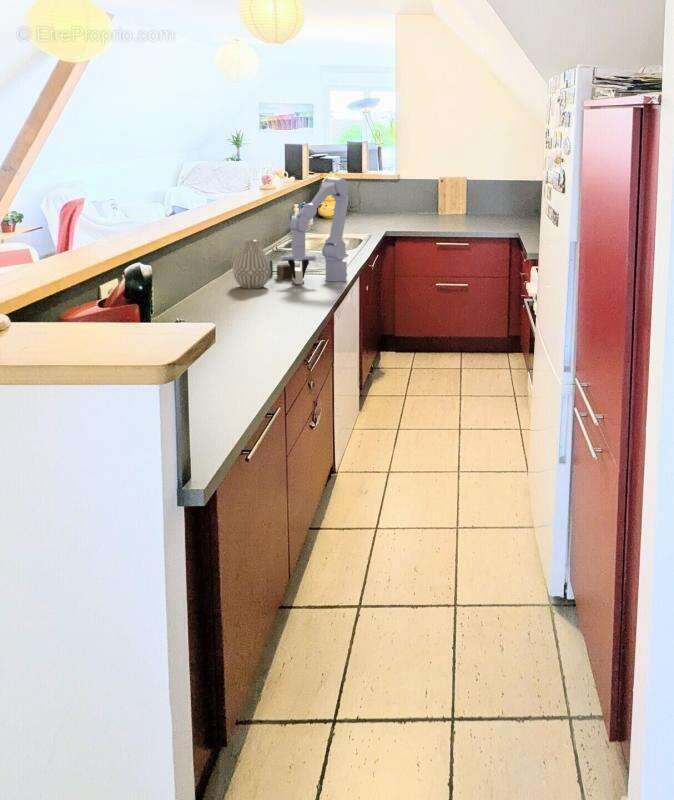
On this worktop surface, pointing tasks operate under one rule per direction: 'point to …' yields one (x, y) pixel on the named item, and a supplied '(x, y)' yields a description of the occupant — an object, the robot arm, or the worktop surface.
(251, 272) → the vase
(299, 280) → the cream flat block piece
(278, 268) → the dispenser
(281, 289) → the worktop surface
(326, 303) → the worktop surface
